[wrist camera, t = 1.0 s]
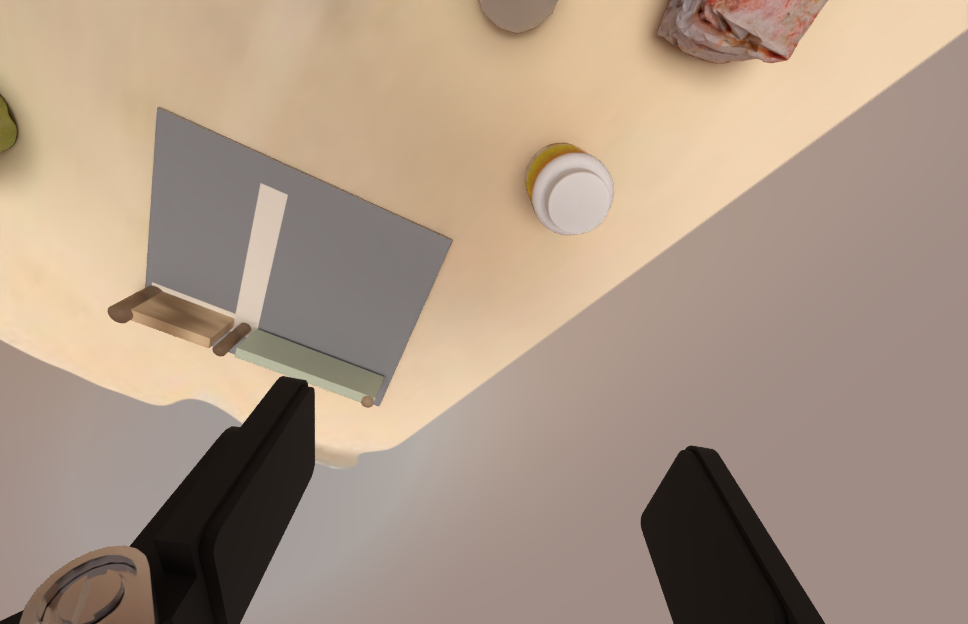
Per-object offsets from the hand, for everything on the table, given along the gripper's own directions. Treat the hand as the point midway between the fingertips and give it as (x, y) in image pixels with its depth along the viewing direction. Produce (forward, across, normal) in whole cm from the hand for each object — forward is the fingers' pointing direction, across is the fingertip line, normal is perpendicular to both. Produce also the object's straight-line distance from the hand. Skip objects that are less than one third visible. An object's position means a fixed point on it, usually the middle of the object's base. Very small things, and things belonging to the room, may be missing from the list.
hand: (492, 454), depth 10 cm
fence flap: (+28, +15, +20) cm, 37 cm away
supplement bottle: (+29, -5, -3) cm, 29 cm away
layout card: (+29, +18, +12) cm, 36 cm away
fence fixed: (+29, +27, +17) cm, 43 cm away
